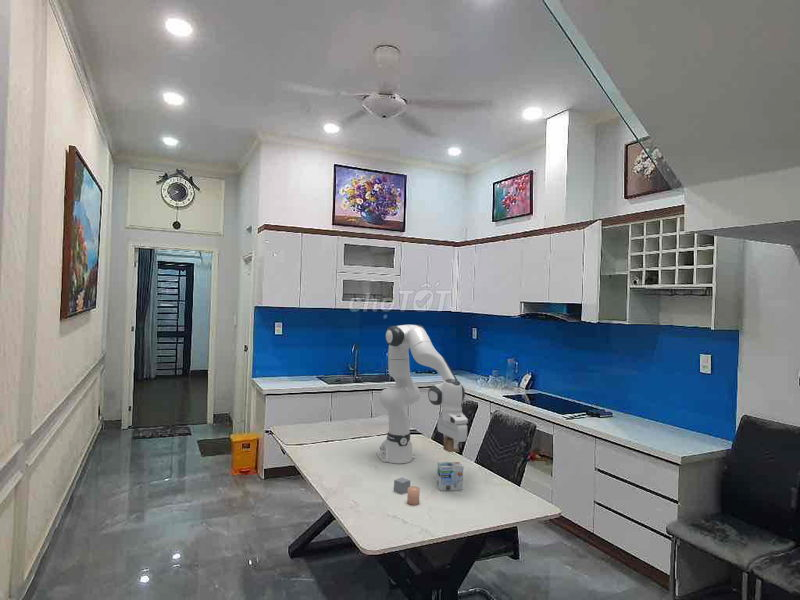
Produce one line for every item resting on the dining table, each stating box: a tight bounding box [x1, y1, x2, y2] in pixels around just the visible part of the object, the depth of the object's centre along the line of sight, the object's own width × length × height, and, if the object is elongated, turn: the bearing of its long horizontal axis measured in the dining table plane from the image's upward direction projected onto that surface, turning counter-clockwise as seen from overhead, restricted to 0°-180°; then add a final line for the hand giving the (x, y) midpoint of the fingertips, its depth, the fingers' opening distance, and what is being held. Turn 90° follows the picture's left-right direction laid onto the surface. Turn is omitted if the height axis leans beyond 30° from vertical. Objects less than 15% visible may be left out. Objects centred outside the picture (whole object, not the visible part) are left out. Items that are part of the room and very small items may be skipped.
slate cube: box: [393, 476, 411, 495], centre depth 223 cm, size 5×5×5 cm
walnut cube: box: [442, 436, 460, 453], centre depth 228 cm, size 5×5×5 cm
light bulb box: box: [436, 461, 464, 492], centre depth 228 cm, size 11×7×11 cm, turn 101°
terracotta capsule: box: [406, 485, 421, 506], centre depth 210 cm, size 5×5×6 cm
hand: (451, 446), depth 228 cm, fingers closed on walnut cube, 5 cm apart
